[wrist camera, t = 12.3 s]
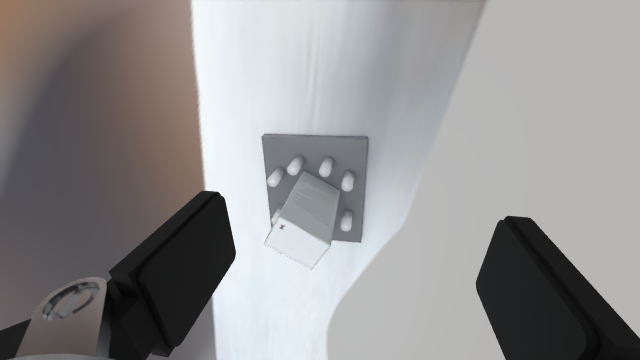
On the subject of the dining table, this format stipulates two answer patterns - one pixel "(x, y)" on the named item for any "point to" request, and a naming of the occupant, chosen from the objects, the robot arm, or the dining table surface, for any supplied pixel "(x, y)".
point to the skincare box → (306, 221)
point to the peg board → (319, 174)
